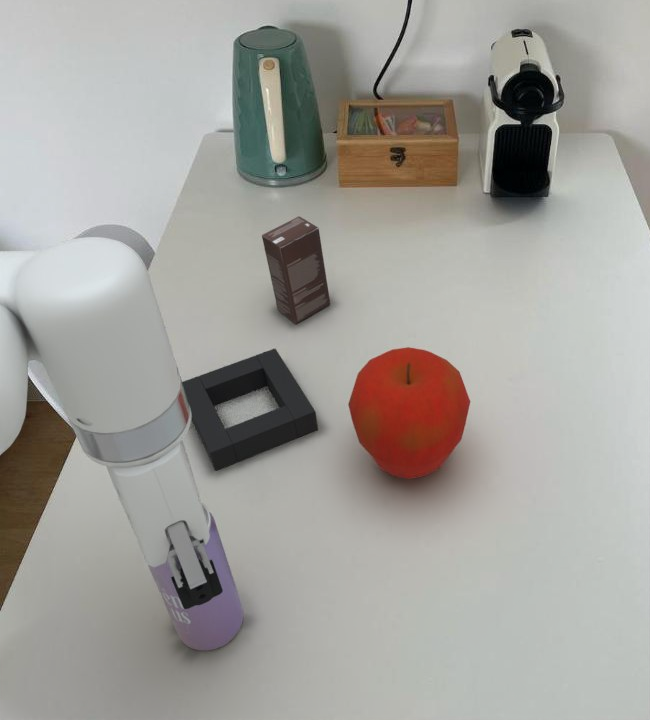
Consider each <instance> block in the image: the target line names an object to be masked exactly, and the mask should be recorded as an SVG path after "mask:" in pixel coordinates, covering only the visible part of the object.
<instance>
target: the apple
mask: <svg viewBox="0 0 650 720" xmlns="http://www.w3.org/2000/svg"><path fill="white" fill-rule="evenodd" d="M470 404H471V399H470V397H469V394H468V391H467V388H466V386H465V383H464V380H463V378H462V375H461V371H459V370H458V368H457V367H455V366H454V365H453V364H452V363H451V362H450V361H448V359H446V358H444V357H441V356H440V355H438V354H435V353H434V352H432V351H429V350H426V349H422V348H421V349H420V348H414V347H408V346H407V347H401V348H394V349H393V348H392V349H390V350H388V351H386V352H384V353H381V354H379V355H377V356H375V357H372V358H371V359H369V360H368V361H367V362H366V363H365V365H364V366H363V367H362V368H361V369H360V370H359V372H358V373H357V375H356V378H355V382H354V385H353V388H352V391H351V394H350V397H349V401H348V403H347V405H348V410H349V415H350V418H351V421H352V425H353V429H354V432H355V434H356V437H357V439H358V443H359V444H360V446H361V447H363V449H364V450H365V451H366V452H367V453H368V454H369V456H370V457H371V458H372V460H374V462H375V463H376V465H378V467H379V468H380V470H382V471H383V472H386V473H387V474H389V475H391V476H393V477H397V478H402V479H409V480H411V479H415V478H421V477H425V476H427V475H429V474H431V473H434V472H435V471H438V470H440V468H441V467H442V466H443V464H444V463H445V461H446V460H447V459H448V458H449V457H450V455H451V454H452V452H453V451H454V450H455V449H456V447H457V446H458V445H459V443H460V442H461V441H462V438H463V434H464V431H465V427H466V424H467V420H468V419H467V418H468V414H469V410H470Z"/></svg>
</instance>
